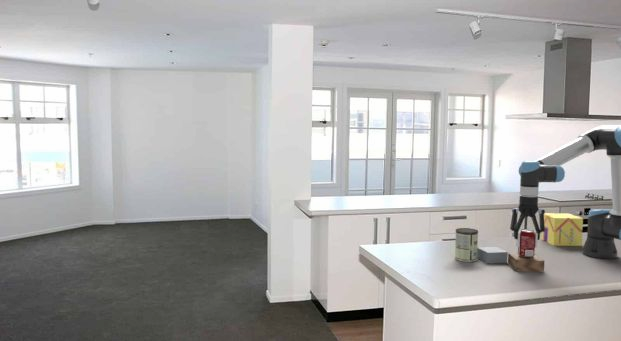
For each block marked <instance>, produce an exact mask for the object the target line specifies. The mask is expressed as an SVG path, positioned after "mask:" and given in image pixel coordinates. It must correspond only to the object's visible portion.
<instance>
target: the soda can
mask: <svg viewBox="0 0 621 341" xmlns="http://www.w3.org/2000/svg"><path fill="white" fill-rule="evenodd" d="M519 232H520V247H517V253H518V255H519V256H520V257H523V258H532V257H534V254H535V252H536V250H535V249H536V248H535V234H534V232H535V230H533V229H528V228H522V229H521V228H520V230H519Z"/></svg>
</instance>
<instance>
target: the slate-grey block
mask: <svg viewBox="0 0 621 341" xmlns="http://www.w3.org/2000/svg"><path fill="white" fill-rule="evenodd" d="M508 253H509V252H508V251H507V250H505V249H503V248H500V247H497V246H488V247H487V246H485V247H483V246H482V247H480V246H479V247H478V246H477V259H479V260H480V261H483V262H484V263H485V264H501V263H502V264H506V263H507V264H508Z"/></svg>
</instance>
